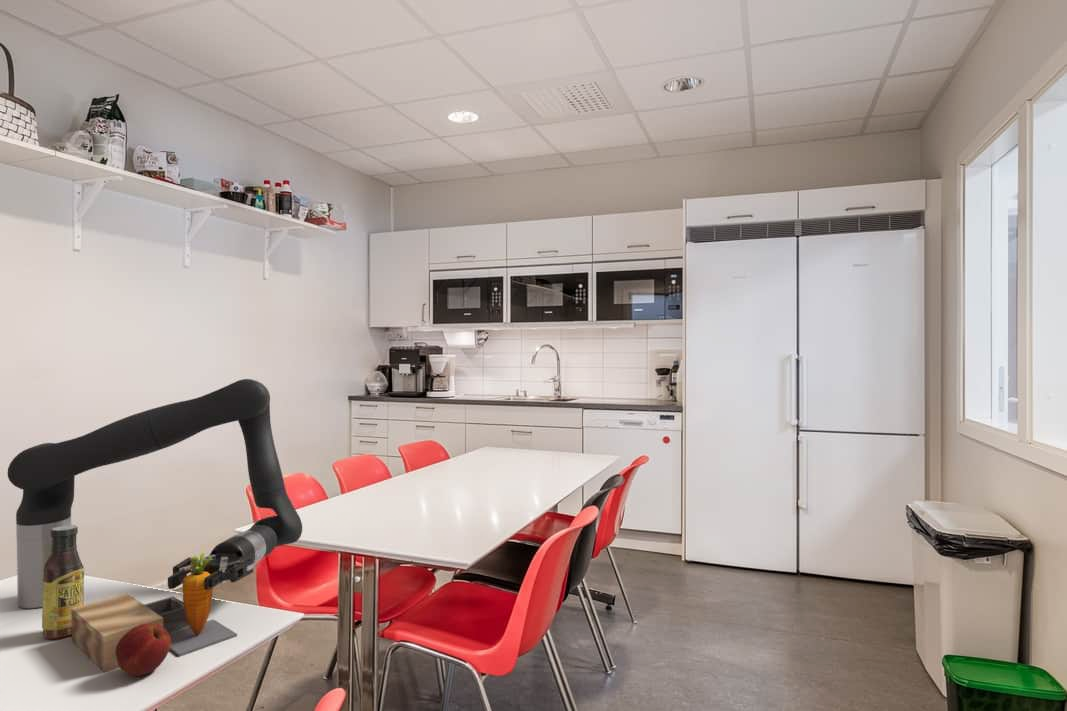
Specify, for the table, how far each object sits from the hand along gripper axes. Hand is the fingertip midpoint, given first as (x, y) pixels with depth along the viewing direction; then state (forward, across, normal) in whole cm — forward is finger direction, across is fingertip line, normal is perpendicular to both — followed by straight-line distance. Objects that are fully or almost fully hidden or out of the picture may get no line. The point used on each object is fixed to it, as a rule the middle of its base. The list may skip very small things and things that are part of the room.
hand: (188, 583), depth 113 cm
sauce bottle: (-3, -27, +11) cm, 29 cm away
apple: (+10, -1, +11) cm, 15 cm away
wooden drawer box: (-1, -10, +11) cm, 15 cm away
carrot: (-2, 0, +11) cm, 11 cm away
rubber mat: (-2, 0, +11) cm, 11 cm away
